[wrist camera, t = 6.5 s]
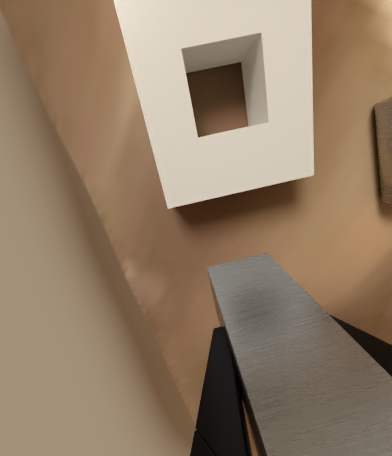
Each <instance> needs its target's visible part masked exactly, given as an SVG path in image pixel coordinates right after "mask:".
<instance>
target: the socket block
mask: <svg viewBox="0 0 392 456" xmlns="http://www.w3.org/2000/svg"><path fill="white" fill-rule="evenodd" d="M114 4H115V7H116V11H117V15H118V19H119V23H120V27H121V31H122V34H123V38H124V42H125V46H126V50H127V54H128V57H129V61H130V65H131V69H132V73H133V77H134V80H135V84H136V88H137V92H138V96H139V100H140V103H141V107H142V111H143V115H144V119H145V123H146V126H147V130H148V134H149V138H150V142H151V146H152V149H153V153H154V157H155V161H156V165H157V169H158V172H159V176H160V180H161V184H162V188H163V192H164V195H165V199H166V203H167V207H168V209H169V208H174V207H178V206H182V205H187V204H191V203H195V202H200V201H204V200H208V199H213V198H217V197H221V196H226V195H230V194H235V193H239V192H243V191H248V190H252V189H256V188H261V187H265V186H269V185H274V184H278V183H282V182H287V181H291V180H296V179H300V178H304V177H309V176H313V175H314V149H313V88H312V27H311V0H114ZM238 62H241V66H242V75H243V84H244V93H245V102H246V111H247V120H248V127H244V128H240V129H235V130H231V131H226V132H221V133H217V134H212V135H208V136H203V137H199V138H198V135H197V130H196V124H195V119H194V114H193V108H192V103H191V98H190V92H189V87H188V82H187V77H186V73H190V72H195V71H199V70H204V69H209V68H214V67H219V66H224V65H229V64H233V63H238Z"/></svg>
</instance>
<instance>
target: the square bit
mask: <svg viewBox="0 0 392 456" xmlns="http://www.w3.org/2000/svg"><path fill="white" fill-rule="evenodd" d="M207 270H208V274H209V279H210V284H211V288H212V293H213V297H214V302H215V307H216V311H217V316H218V319H219V323H220V326H223V327H224V329H225V332H226V335H227V338H228V342H229V345H230V348H231V351H232V354H233V357H234V361H235V366H236V371H237V376H238V381H239V386H240V391H241V396H242V401H243V406H244V409H245V413H246V416H247V420H248V423H249V427H250V430H251V434H252V437H253V440H254V444H255V447H256V451H257V454H258V456H392V377H391V376H390V375H389V374H388V373H387V372H386V371H385V370H384V369H383V368H382V367H381V366H380V365H379V364H378V363H377V362H376V361H375V360H374V359H373V358H372V357H371V356H370V355H369V354H368V353H367V352H366V351H365V350H364V349H363V348H362V347H361V346H360V345H359V344H358V343H357V342H356V341H355V340H354V339H353V338H352V337H351V336H350V335H349V334H348V333H347V332H346V331H345V330H344V329H343V328H342V327H341V326H340V325H339V324H338V323H337V322H336V321H335V320H334V319H333V318H332V317H331V316H330V315H329V314H328V313H327V312H326V311H325V310H324V309H323V308H322V307H321V306H320V305H319V304H318V303H317V302H316V301H315V300H314V299H313V298H312V297H311V296H310V295H309V294H308V293H307V292H306V291H305V290H304V289H303V288H302V287H301V286H300V285H299V284H298V283H297V282H296V281H295V280H294V279H293V278H292V277H291V276H290V275H289V274H287V273H286V272H285V271H284V270H283V269H282V268H281V267H280V266H279V265H278V264H277V263H276V262H275V261H274V260H273V259H272V258H271V257H270V256H269V255H268V254H267V253H264V254H260V255H256V256H252V257H248V258H243V259H239V260H235V261H231V262H227V263H223V264H219V265H215V266H210V267H207Z"/></svg>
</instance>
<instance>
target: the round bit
mask: <svg viewBox="0 0 392 456" xmlns="http://www.w3.org/2000/svg"><path fill="white" fill-rule="evenodd" d="M374 106H375V119H376V132H377V145H378V159H379V172H380V185H381V198H382V201H383V202H384V203H387V204H392V97H391V98H389V99H387V100H384V101H382V102H380V103H377V104H375V105H374Z"/></svg>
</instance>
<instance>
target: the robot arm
mask: <svg viewBox="0 0 392 456" xmlns="http://www.w3.org/2000/svg"><path fill="white" fill-rule="evenodd" d="M329 315H330V314H329ZM330 316H331V317H332V318H333V319H334V320H335V321H336V322H337V323H338V324H339V325H340V326H341V327H342V328H343V329H344V330H345V331H346V332H347V333H348V334H349V335H350V336H351V337H352V338H353V339H354V340H355V341H356V342H357V343H358V344H359V345H360V346H361V347H362V348H363V349H364V350H365V351H366V352H367V353H368V354H369V355H370V356H371V357H372V358H373V359H374V360H375V361H376V362H377V363H378V364H379V365H380V366H381V367H382V368H383V369H384V370H385V371H386V372H387V373H388V374H389V375H390V376H391V377H392V345H391V344H388V343H386V342H384V341H382V340H380V339H378V338H376V337H374V336H372V335H370V334H368V333H366V332H364V331H362V330H360V329H358V328H356V327H354V326H352V325H350V324H348V323H346V322H344V321H342V320H340V319H338V318H336V317H334V316H332V315H330ZM190 456H252V453H251V448H250V442H249V436H248V430H247V424H246V418H245V413H244V407H243V401H242V396H241V391H240V386H239V381H238V376H237V371H236V366H235V361H234V357H233V354H232V351H231V348H230V345H229V342H228V338H227V335H226V332H225V329H224V327H223V326H221V327H218V328H214V330H213V335H212V341H211V346H210V351H209V357H208V362H207V368H206V373H205V379H204V384H203V389H202V395H201V400H200V406H199V411H198V417H197V422H196V431H195V432H194V438H193V443H192V448H191V453H190Z"/></svg>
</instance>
